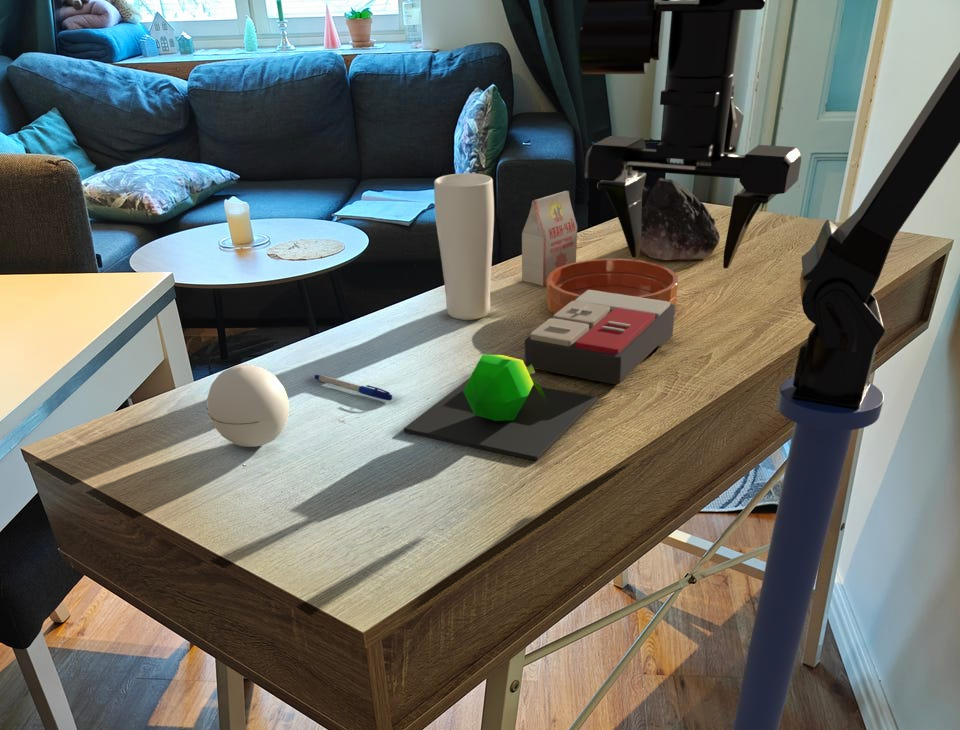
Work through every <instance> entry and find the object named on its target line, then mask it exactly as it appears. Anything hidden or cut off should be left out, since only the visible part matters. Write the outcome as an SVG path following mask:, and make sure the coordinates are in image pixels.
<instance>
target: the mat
mask: <svg viewBox="0 0 960 730" xmlns="http://www.w3.org/2000/svg"><path fill="white" fill-rule="evenodd" d="M469 379H470V377H469V378H467V379H466V380H465V381H464V382H462V383H461V384H459V385H458V386H457V387H456V388H454V389H453V390H452V391H450V392H449V393H448V394H447V395H445V396H444V397H443V398H441V399H440V400H439V401H438V402H436V403H435V404H434V405H433V406H431V407H430V408H428V409H426V411H424V412H423V413H422V414H420V415H419V416H417V418H415V419H414V420H412V421H411V422H410V423H409V424H408V425H406V426H405V427H403V433H407V434H412V435H415V436H416V435H417V436H421V437H426V438H430V439H435V440H440V441H444V442H448V443H452V444H458V445H462V446H467V447H471V448H476V449H481V450H485V451H490V452H493V453H494V452H495V453H499V454H504V455H507V456H513V457H518V458H523V459H526V460H532V461H535V462H538V461H539V460H540V459H541V458H542V457H543V455H545V454H546V453H547V452H548V451H549V450H550V449H551V448H552V446H554V444H555V443H556V442H558V441H559V440H560V439H561V438H562V437H563V436H564V435H565V434H566V433H567V432H568V430H569V429H571V428H572V427H573V425H575V424H576V422H578V420H580V419H581V418H582V417H583V415H584V414H586V413H587V411H589V410H590V409H591V408H592V406H593V405H594V404H596V403H597V402H598V396H594V395H588V394H583V393H578V392H572V391H567V390H561V389H555V388H550V387H544V386H541V388H542V391H543V393H544V395H545V398H546V400H547V402H546V401H545V399H544V398H543V397H542V395H541V394H540V393H539V392H538V390H537V389H536V388H535V386H534V385H533V386H532V388H531V390H530V392H529V395H528V396H527V398H526V400H525V402H524V404H523V405H522V407H521V409H520V411H519V412H518V414H517V416H516V418H515V419H514V420H508V421H494V420H490V419H487V418H484V417H480V416H477V415H474V413H473V411H472V409H471V406H470V404H469V402H468V400H467V398H466V396H465V394H464V392H463V391H464V389H465V387H466V385H467V383H468V381H469Z"/></svg>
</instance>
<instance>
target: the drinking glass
mask: <svg viewBox="0 0 960 730" xmlns="http://www.w3.org/2000/svg"><path fill="white" fill-rule="evenodd" d="M433 187H434V188H433V193H434V215H435V225H436V233H437V234H436V235H437V240H438V247H439V253H440V254H439V255H440V262H441V270H442V276H443V282H444V283H443V284H444V293H445V303H446V304H445V305H446V312H447V314H448V315H449V316H450V317H451V318H453V319H455V320H460V321H462V320H463V321H471V320H479V319H482V318H484V317H486V316H487V315H489V313H490V311H491V281H492V265H493V264H492V263H493V248H494V246H493V245H494V229H495V228H494V227H495V196H494V195H495V194H494V179H493V177H492V176H490V175H487V174H482V173H474V172H473V173H472V172H471V173H470V172H469V173H468V172H466V173H465V172H462V173H452V174H446V175H441V176H439V177H437V178H435V180H434V181H433Z"/></svg>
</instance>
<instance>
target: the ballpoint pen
mask: <svg viewBox="0 0 960 730" xmlns="http://www.w3.org/2000/svg"><path fill="white" fill-rule="evenodd" d="M313 378H314V380H317V381H319V382H321V383H325V384H328V385H332V386H335V387H340V388H344V389H347V390H351V391H353V392H356V393H357V392H358V393H360V394H362V395H366V396H369V397H373V398H376V399H380V400H385V401H391V400H393V395H392V394H391V393H390V391H387V390H386V389H383V388H379V387H377V386H372V385H370V384H369V385H366V386H363V385H359V384H355V383H351V382H349V381H344V380H341V379H337V378H333V377H330V376H326V375H322V374H314V376H313Z"/></svg>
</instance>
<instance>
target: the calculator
mask: <svg viewBox="0 0 960 730" xmlns="http://www.w3.org/2000/svg"><path fill="white" fill-rule="evenodd" d="M675 309H676V305H674V304H670V302H667V301H660V300H654V299H647V298H641V297H634V296H627V295H621V294H614V293H608V292H601V291H595V290H587V291H586V292H584V293H583V294H582V295H581V296H579V297H578V298H577V299H576V300H574V301H571V302H570V303H568V304H567V305H566V306H565V307H563V308H562V309H561V310H560V311H558V312H557V313H556V314H554V313H553V316H552V317H550V318H548V319H547V320H545V321H544V322H543V323H542V324H541V325H539V326H538V327H537V328H535V329H534V330H532V331H531V332H530V334H529V335H528V336H527V337H526V338H525V339H524V364H525V366H526V368H527V367H528V366H530V365H531V364H532V366H533V368H534V370H535V369H536V370H540V371H545V372H550V373H556V374H561V375H565V376H570V377H575V378H580V379H584V380H585V379H586V380H592V381H595V382H601V383H605V384H609V385H610V384H611V385H619V384H620V383H622V381H623V380H625V378H627V377H628V376H629V375H630V373H632V372H633V371H634V369H636V368H637V367H638V366H639V365H640V364H641V363H642V362H643V361H644V360H645V359H646V358H647V357H648V356H649V355H650V354H651V353H652V352H653V351H654V350H655V349H656V348H659V349H660V348H662V347H663V346H664V345H665V344H667V342H668V341H669V340H670V339H671V338H672V337H673V335H674V334H673V333H674V322H675V314H676V313H675V312H676V310H675Z"/></svg>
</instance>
